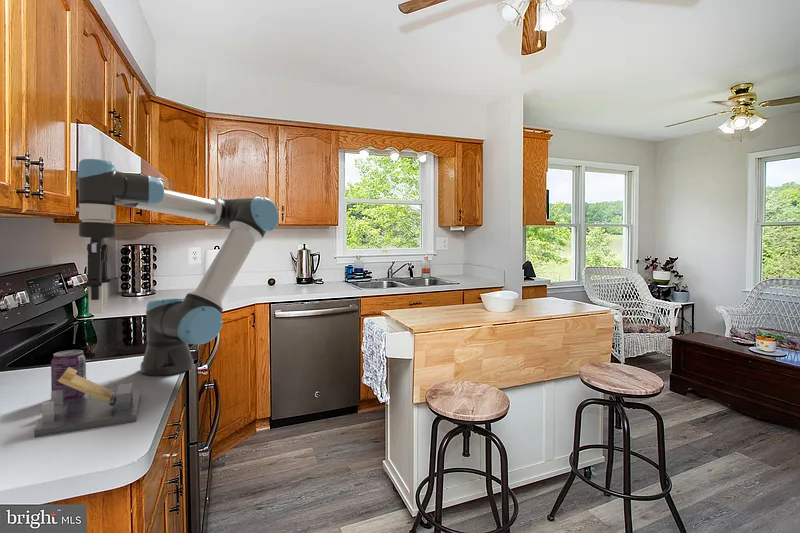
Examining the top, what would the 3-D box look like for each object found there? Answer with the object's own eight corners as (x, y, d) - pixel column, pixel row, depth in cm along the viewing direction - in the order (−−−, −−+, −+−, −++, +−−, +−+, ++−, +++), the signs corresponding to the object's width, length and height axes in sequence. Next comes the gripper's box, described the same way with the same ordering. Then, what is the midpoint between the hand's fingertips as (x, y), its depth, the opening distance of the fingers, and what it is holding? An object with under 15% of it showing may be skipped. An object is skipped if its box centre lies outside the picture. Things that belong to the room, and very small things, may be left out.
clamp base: (54, 407, 103) (53, 385, 103) (140, 396, 112) (140, 376, 112) (34, 437, 87) (33, 411, 87) (136, 421, 96) (136, 397, 96)
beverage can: (81, 391, 115) (81, 348, 114) (89, 397, 110) (89, 352, 110) (48, 398, 109) (47, 352, 109) (55, 405, 105) (54, 357, 104)
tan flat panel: (63, 373, 99) (70, 365, 100) (116, 397, 105) (122, 388, 105) (56, 382, 93) (64, 373, 94) (113, 406, 99) (119, 397, 99)
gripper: (86, 223, 114) (87, 305, 115) (70, 219, 95) (71, 317, 96) (119, 224, 118) (120, 304, 119) (110, 220, 99) (111, 315, 100)
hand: (98, 310), depth 107 cm, fingers open, 9 cm apart
